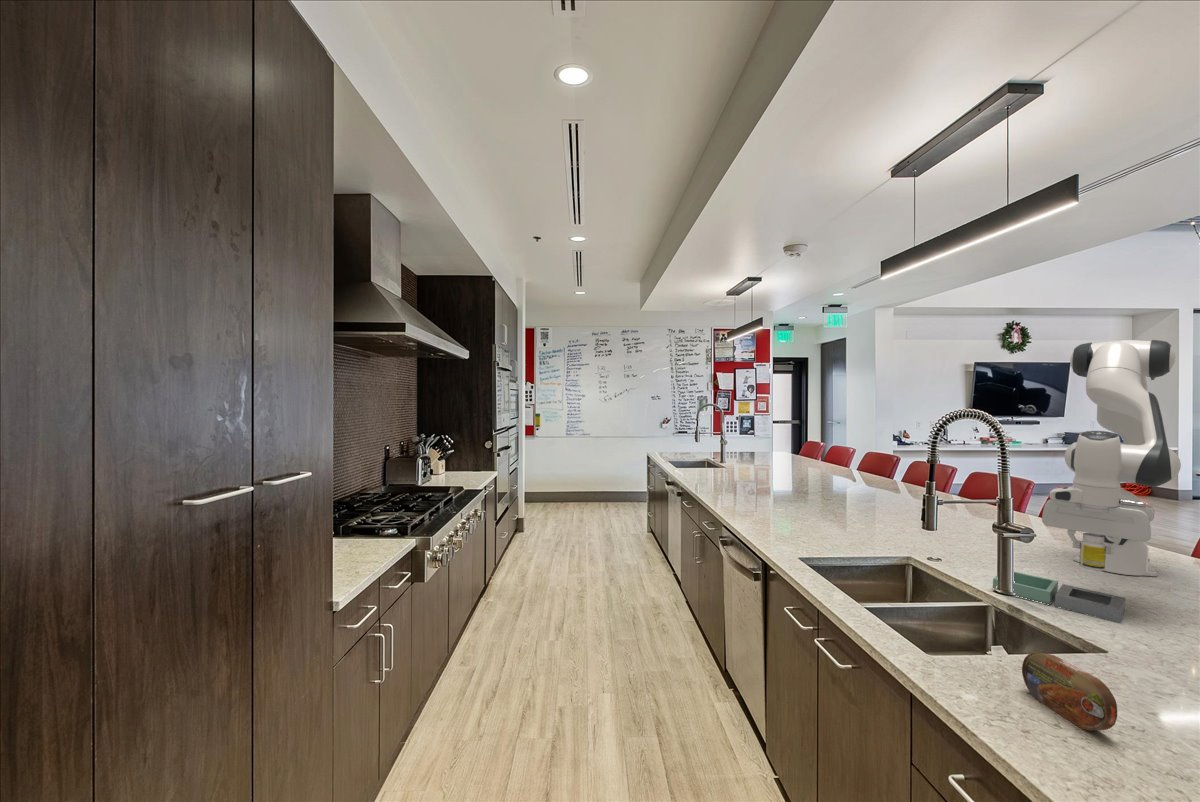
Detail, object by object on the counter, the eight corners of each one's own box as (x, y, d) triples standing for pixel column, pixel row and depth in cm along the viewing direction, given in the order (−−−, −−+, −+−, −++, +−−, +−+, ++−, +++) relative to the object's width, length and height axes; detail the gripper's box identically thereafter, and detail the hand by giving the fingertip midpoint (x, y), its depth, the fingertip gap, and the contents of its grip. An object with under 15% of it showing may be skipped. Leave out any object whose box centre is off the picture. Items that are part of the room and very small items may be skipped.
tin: (1019, 688, 99) (1021, 643, 99) (1035, 688, 99) (1037, 643, 99) (1102, 743, 84) (1104, 690, 84) (1120, 742, 84) (1123, 689, 84)
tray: (1003, 581, 155) (1003, 569, 155) (1057, 593, 146) (1058, 581, 146) (992, 591, 147) (993, 578, 146) (1049, 605, 138) (1050, 592, 138)
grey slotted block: (1062, 595, 145) (1062, 584, 145) (1124, 609, 136) (1125, 597, 136) (1054, 606, 137) (1055, 595, 137) (1120, 623, 128) (1121, 610, 128)
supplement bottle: (1109, 572, 134) (1111, 538, 133) (1087, 570, 134) (1089, 536, 134) (1096, 565, 138) (1097, 533, 138) (1074, 564, 139) (1076, 531, 139)
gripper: (1155, 501, 130) (1152, 558, 131) (1046, 488, 145) (1043, 539, 146) (1154, 505, 126) (1150, 564, 126) (1041, 491, 141) (1039, 543, 142)
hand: (1092, 550), depth 136 cm, fingers closed on supplement bottle, 5 cm apart
